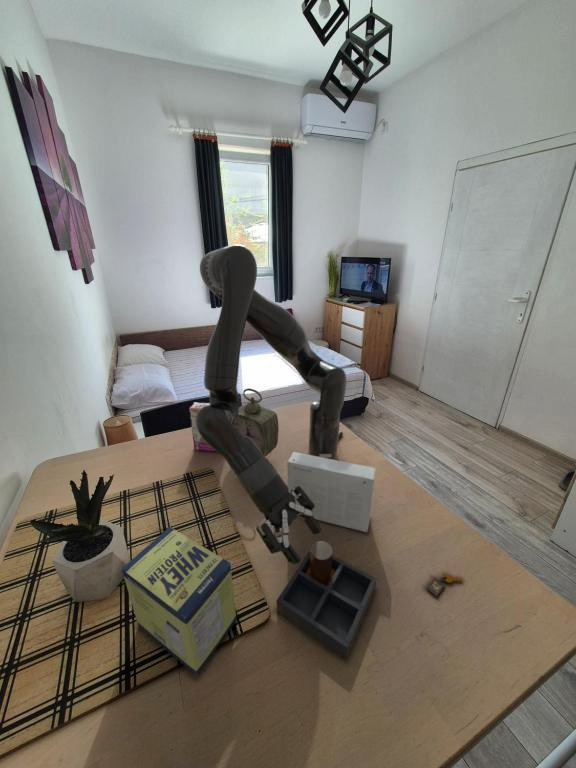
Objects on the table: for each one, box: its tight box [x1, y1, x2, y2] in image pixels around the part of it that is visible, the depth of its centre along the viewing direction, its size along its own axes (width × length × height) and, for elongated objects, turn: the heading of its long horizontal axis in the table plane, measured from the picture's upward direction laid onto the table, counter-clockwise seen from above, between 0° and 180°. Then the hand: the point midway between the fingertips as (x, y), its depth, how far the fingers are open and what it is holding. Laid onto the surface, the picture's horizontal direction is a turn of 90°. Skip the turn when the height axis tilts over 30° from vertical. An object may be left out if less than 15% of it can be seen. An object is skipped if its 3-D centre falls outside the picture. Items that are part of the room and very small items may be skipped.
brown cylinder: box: [310, 540, 334, 586], centre depth 67 cm, size 4×4×8 cm
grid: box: [276, 549, 378, 660], centre depth 64 cm, size 14×14×4 cm
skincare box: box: [286, 451, 377, 533], centre depth 82 cm, size 21×6×16 cm, turn 71°
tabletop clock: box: [235, 387, 280, 458], centre depth 102 cm, size 14×9×25 cm, turn 58°
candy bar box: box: [188, 401, 217, 453], centre depth 109 cm, size 11×5×16 cm, turn 84°
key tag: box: [426, 573, 463, 597], centre depth 68 cm, size 8×3×1 cm, turn 116°
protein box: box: [121, 526, 238, 677], centre depth 57 cm, size 10×16×16 cm
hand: (308, 546), depth 67 cm, fingers open, 8 cm apart
